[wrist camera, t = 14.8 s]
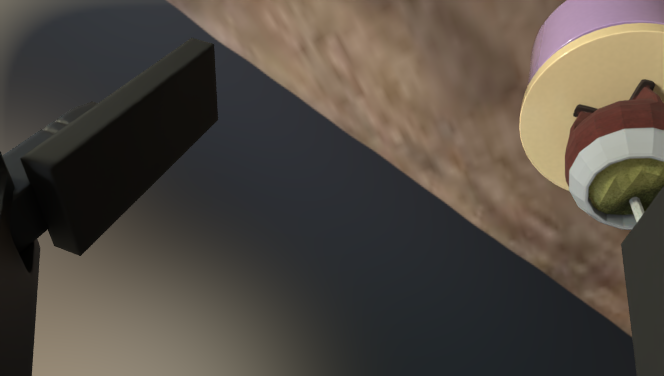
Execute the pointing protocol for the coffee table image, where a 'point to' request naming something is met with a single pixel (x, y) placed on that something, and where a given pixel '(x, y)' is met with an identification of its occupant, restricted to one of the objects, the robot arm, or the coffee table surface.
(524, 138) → the jar
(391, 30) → the coffee table surface
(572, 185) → the mate gourd
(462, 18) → the coffee table surface
